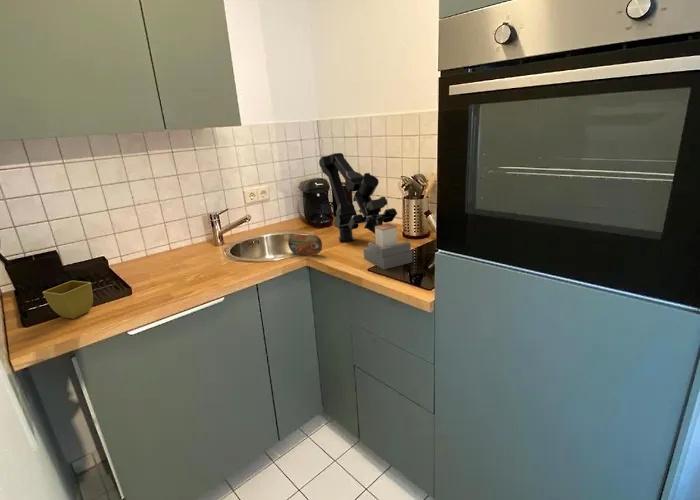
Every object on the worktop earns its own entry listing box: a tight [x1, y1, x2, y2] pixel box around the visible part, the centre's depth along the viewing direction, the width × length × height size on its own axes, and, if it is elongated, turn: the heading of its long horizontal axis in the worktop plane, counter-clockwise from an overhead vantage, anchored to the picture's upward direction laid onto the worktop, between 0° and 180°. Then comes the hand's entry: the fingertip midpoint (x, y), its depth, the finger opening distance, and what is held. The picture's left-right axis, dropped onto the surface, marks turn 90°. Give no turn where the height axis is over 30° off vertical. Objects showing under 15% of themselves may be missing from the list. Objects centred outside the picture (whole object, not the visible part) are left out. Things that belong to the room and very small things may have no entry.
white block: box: [374, 223, 398, 248], centre depth 136 cm, size 5×6×9 cm
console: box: [363, 241, 413, 270], centre depth 137 cm, size 14×12×7 cm
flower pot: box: [42, 280, 94, 319], centre depth 110 cm, size 9×9×9 cm
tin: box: [287, 233, 323, 256], centre depth 151 cm, size 15×3×8 cm, turn 62°
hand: (382, 237), depth 139 cm, fingers closed
